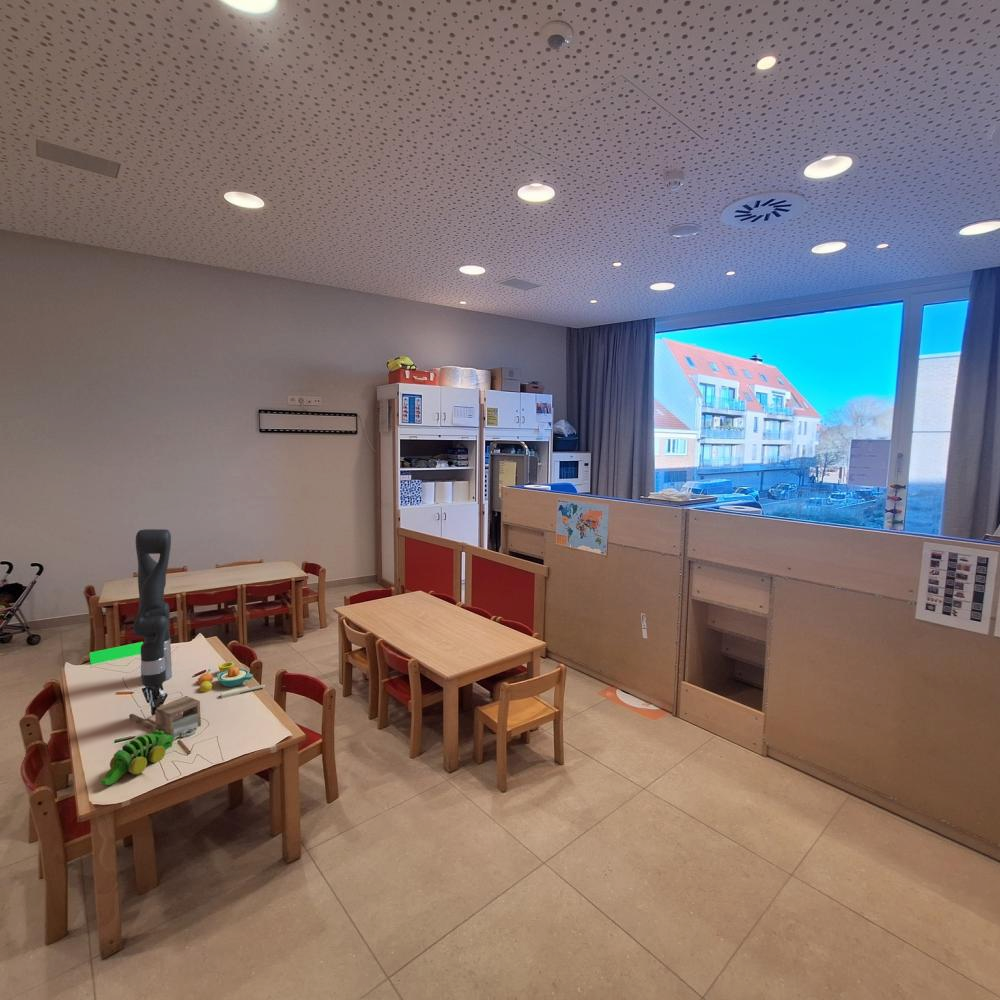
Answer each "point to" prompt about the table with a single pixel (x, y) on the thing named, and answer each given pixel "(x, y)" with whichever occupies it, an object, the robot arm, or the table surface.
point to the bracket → (115, 653)
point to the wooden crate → (166, 714)
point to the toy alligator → (140, 754)
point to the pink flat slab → (152, 719)
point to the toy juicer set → (227, 679)
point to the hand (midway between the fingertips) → (155, 715)
